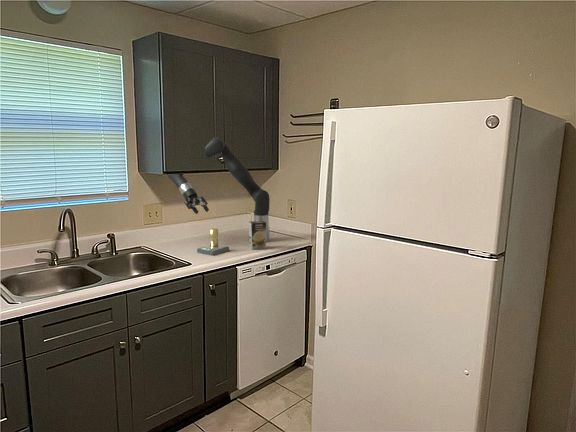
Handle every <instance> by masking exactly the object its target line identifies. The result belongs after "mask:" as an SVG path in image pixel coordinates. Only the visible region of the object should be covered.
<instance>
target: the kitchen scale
mask: <svg viewBox="0 0 576 432" xmlns="http://www.w3.org/2000/svg"><path fill="white" fill-rule="evenodd" d="M196 251H197V252H196V253H197V254H202V255H206V256H207V255H208V256H216V255H220V254H222V253H226V252H230V246H229V245H225V244H220V243H218V247H210V244H207V245H203V246H200V247H197V249H196Z"/></svg>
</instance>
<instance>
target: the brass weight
mask: <svg viewBox="0 0 576 432" xmlns="http://www.w3.org/2000/svg"><path fill="white" fill-rule="evenodd" d="M218 244H219V228H210V229H209V245H210V247H218Z"/></svg>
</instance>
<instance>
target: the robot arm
mask: <svg viewBox="0 0 576 432" xmlns="http://www.w3.org/2000/svg"><path fill="white" fill-rule="evenodd" d="M214 137H215V138H213V137H212V138H213V139H212V138H211V139H212V140H211V139H210V140H211V141H210V140H209V143H207V144H206V145H205V146H206V147H205V146H204V147H205V153H206V156H207V157H209V158H211V157H213V156H216V155H218V154H219V153H221V152H222V157H223V159H222V161H223V160H224V161H223V162H224V164H225V165H226V166H225V167H226V168H227V169H228V171H229V173H230V174H231V175H232V176H233V178H235V180H236V181H237V182H238V183H240V185H241V186H242V187H243V188H244V189H245V190H246V191H247V192H248V194H249V195H250V197H251V198H252V200H253V201H254V210H253V221H264V222H266V243H267V242H269V241H270V225H269V222H270V221H269V217H270V216H269V212H270V198H271V197H270V193H268V191H267V190H264V189H263V188H261V187H260V186H259V185H258V184H257V182H256V181H255V180H254V178H253V176H252V175H251V173H250V171H249V170H248V169H247V168H246V166H245V165H244V163H243V162H242V161H240V159H239V158H238V157H237V156H236V155H235V154H234V153H233V152H232V151H231V150H230V148H229V146H228V145H227V144H226V142H225V141H224V140H223V138H221V137H219V136H214ZM183 175H184V174H171V175H167V174H166V176H167V177H168V178H169V179H170V180H171V181H172V182H173V183H174V184H175V186H176V187H177V189H178V190H179V192H180V194H181V195H182V197H183V198H184V199H185V200H184V201H183V203H184V204H185V206H186V207H187V209H188V210H192V211H193V213H194V214H195V215H197V214H198V213H199V210H198V209H197V207H195V206H199V207H202V208H203V210H204V211H205V212H206V213H208V212H209V211H210V208H209V207H208V206H207V205H208V203H209V202H207V200H206V198H204V197H203V196H201V197H199V196H198V193H197V192H196V190H195V189H194V188H193V186H192V185H191V184H190V183H189V181H188V180H187V179H186V178H185V177H184V176H183Z"/></svg>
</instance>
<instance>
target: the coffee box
mask: <svg viewBox="0 0 576 432" xmlns="http://www.w3.org/2000/svg"><path fill="white" fill-rule="evenodd" d="M248 248H249V249H250V250H251V251H253V250H254V251H255V250H266V249H267V242H266V222H264V221H254V220H253V221H252V220H251V221H248Z"/></svg>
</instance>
